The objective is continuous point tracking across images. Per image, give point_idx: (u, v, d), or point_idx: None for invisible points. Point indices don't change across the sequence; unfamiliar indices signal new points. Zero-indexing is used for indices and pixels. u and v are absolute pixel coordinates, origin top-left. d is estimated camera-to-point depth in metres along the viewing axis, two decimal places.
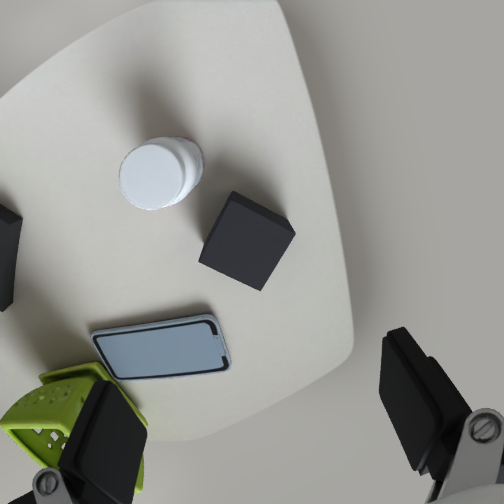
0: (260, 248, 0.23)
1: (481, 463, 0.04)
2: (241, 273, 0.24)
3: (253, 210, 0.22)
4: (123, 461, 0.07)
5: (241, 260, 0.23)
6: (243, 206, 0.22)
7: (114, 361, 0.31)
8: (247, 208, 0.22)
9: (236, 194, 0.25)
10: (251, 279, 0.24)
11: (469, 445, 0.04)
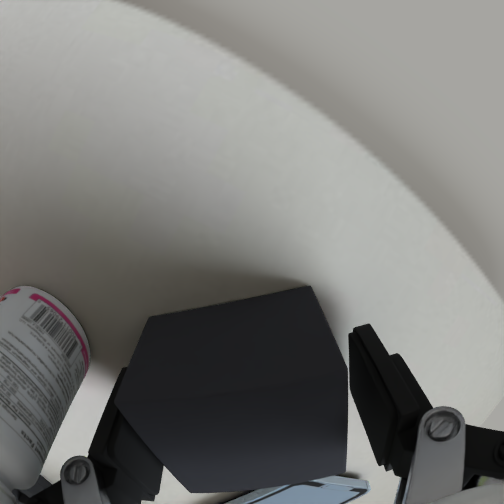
0: (279, 442, 0.07)
1: (434, 461, 0.04)
2: (282, 478, 0.08)
3: (184, 391, 0.06)
4: None
5: (260, 469, 0.07)
6: (151, 401, 0.06)
7: None
8: (164, 400, 0.06)
9: (153, 330, 0.09)
10: (311, 474, 0.08)
11: (427, 445, 0.05)
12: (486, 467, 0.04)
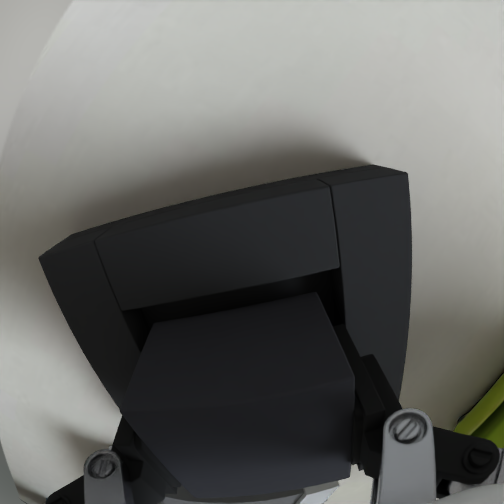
0: (285, 448, 0.07)
1: (396, 463, 0.05)
2: (287, 484, 0.08)
3: (190, 400, 0.06)
4: None
5: (265, 475, 0.07)
6: (157, 410, 0.06)
7: None
8: (170, 408, 0.06)
9: (157, 336, 0.09)
10: (316, 479, 0.08)
11: (394, 448, 0.05)
12: (456, 475, 0.04)
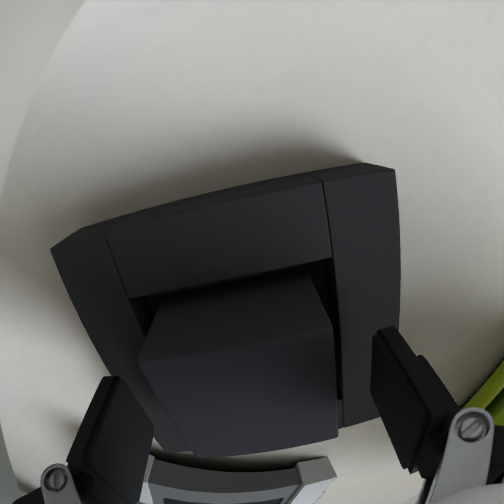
0: (278, 398, 0.08)
1: (467, 462, 0.04)
2: (281, 440, 0.09)
3: (197, 348, 0.08)
4: (131, 457, 0.08)
5: (261, 429, 0.09)
6: (170, 357, 0.08)
7: None
8: (181, 355, 0.08)
9: (168, 304, 0.11)
10: (307, 436, 0.09)
11: (457, 444, 0.04)
12: None
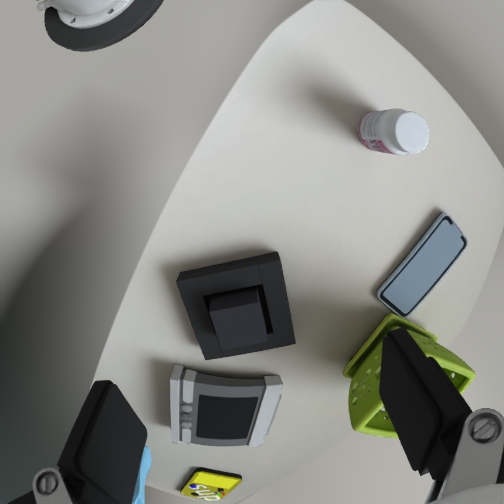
0: (246, 322, 0.33)
1: (481, 463, 0.04)
2: (248, 340, 0.34)
3: (225, 307, 0.33)
4: (123, 461, 0.07)
5: (242, 334, 0.34)
6: (218, 310, 0.33)
7: (400, 302, 0.38)
8: (221, 309, 0.33)
9: (214, 297, 0.35)
10: (256, 339, 0.34)
11: (469, 445, 0.04)
12: None
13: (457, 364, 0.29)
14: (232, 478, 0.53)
